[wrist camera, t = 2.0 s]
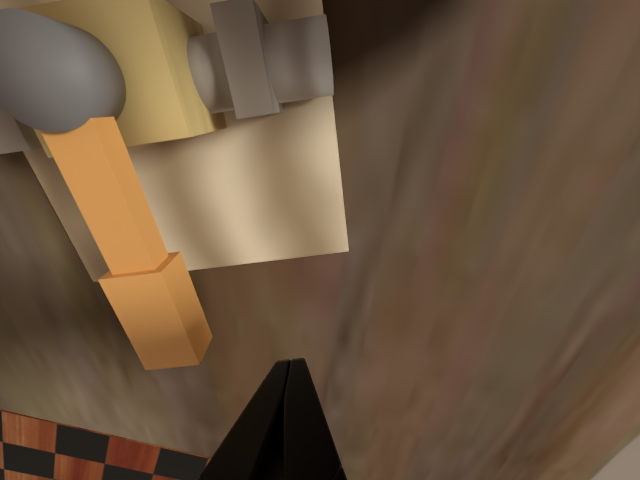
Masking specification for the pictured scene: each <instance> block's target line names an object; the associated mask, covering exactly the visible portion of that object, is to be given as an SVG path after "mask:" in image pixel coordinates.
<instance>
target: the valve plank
mask: <svg viewBox="0 0 640 480" xmlns="http://www.w3.org/2000/svg"><path fill="white" fill-rule="evenodd" d="M5 8H16V9H21V10H26V11H29V12H32V13H35V14H38V15H41V16H45V17H48V18H51V19H54V20H57V21H60V22H63V23H66V24H69V25H73V26H76V27H78V28H81V29H83V30H85V31H87V32H89V33H91V34H92V35H94V36H95V37H96V38H98V39H99V40H100V41H101V42H102V43H103V44H104V45H105V46H106V47H107V48H108V49H109V50H110V52H111V53H112V54H113V56H114V57H115V59H116V60H117V62H118V64H119V66H120V68H121V71H122V73H123V76H124V80H125V85H126V101H125V105H124V108H123V111H122V113H121V114H120V116H119V117H118V118H117V119H116V120H115V121H116V123H117V126H118V128H119V131H120V133H121V136H122V138H123V141H124V144H125V146H126V149H127V151H128V154H129V156H130V159H131V161H132V164H133V166H134V169H135V171H136V174H137V176H138V179H139V181H140V184H141V187H142V189H143V192H144V194H145V197H146V199H147V202H148V204H149V207H150V209H151V212H152V214H153V217H154V219H155V222H156V224H157V227H158V230H159V232H160V235H161V237H162V240H163V242H164V245H165V247H166V250H167V252H168V253H172V252H180V251H181V254H182V257H183V259H184V262H185V265H186V267H187V270H188V271H189V270H197V269H206V268H214V267H222V266H231V265H239V264H247V263H255V262H264V261H272V260H280V259H288V258H297V257H305V256H313V255H322V254H330V253H338V252H346V251H349V249H348V239H347V230H346V220H345V211H344V202H343V192H342V183H341V173H340V164H339V155H338V145H337V136H336V126H335V117H334V108H333V98H332V95H334V84H333V70H332V59H331V49H330V40H329V32H328V24H327V18H326V14H324V13H323V4H322V0H0V9H5ZM19 151H23V152H24V154H25V156H26V158H27V160H28V162H29V164H30V165H31V167H32V169H33V171H34V173H35V175H36V177H37V178H38V180H39V182H40V184H41V186H42V188H43V189H44V191H45V193H46V195H47V197H48V199H49V201H50V202H51V204H52V206H53V208H54V210H55V212H56V214H57V215H58V217H59V219H60V221H61V223H62V225H63V227H64V228H65V230H66V232H67V234H68V236H69V238H70V240H71V241H72V243H73V245H74V247H75V249H76V251H77V253H78V254H79V256H80V258H81V260H82V262H83V264H84V266H85V267H86V269H87V271H88V273H89V275H90V277H91V279H92V280H93V282H98V279H100V278H101V277H102V276H103V275H105V274H106V273H107V272H108V271H110V269H109V267H108V265H107V263H106V261H105V259H104V257H103V255H102V253H101V251H100V249H99V247H98V245H97V243H96V241H95V239H94V237H93V235H92V233H91V231H90V229H89V227H88V225H87V223H86V221H85V219H84V217H83V215H82V213H81V211H80V209H79V207H78V205H77V203H76V201H75V199H74V197H73V195H72V193H71V191H70V189H69V187H68V185H67V183H66V181H65V179H64V177H63V175H62V173H61V171H60V169H59V167H58V165H57V163H56V161H55V159H54V157H53V155H52V153H51V152H50V150H49V148H48V146H47V144H46V142H45V140H44V138H43V136H42V134H41V132H40V130H37V129H34V128H31V127H29V126H27V125H25V124H23V123H21V122H20V121H18V120H17V119H15V118H14V117H12V116H11V115H10V114H9V113H7V112H6V111H5V110H4V109H3V108H2V107H1V106H0V154H5V153H12V152H19Z"/></svg>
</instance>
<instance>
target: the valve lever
mask: <svg viewBox="0 0 640 480" xmlns="http://www.w3.org/2000/svg"><path fill="white" fill-rule="evenodd" d="M125 101H126V85H125V80H124V76H123V73H122V71H121V68H120V66H119V64H118V62H117V60H116V59H115V57H114V56H113V54H112V53H111V52H110V50H109V49H108V48H107V47H106V46H105V45H104V44H103V43H102V42H101V41H100V40H99V39H98V38H96V37H95V36H94V35H92V34H91V33H89V32H87V31H85V30H83V29H81V28H78V27H76V26H73V25H69V24H66V23H63V22H60V21H57V20H54V19H51V18H48V17H45V16H41V15H38V14H35V13H32V12H29V11H26V10H21V9H16V8H5V9H0V106H1V107H2V108H3V109H4V110H5V111H6V112H7V113H9V114H10V115H11V116H12V117H14V118H15V119H17V120H18V121H20V122H21V123H23V124H25V125H27V126H29V127H31V128H34V129H37V130H40V132H41V134H42V136H43V138H44V140H45V142H46V144H47V146H48V148H49V150H50V152H51V153H52V155H53V157H54V159H55V161H56V163H57V165H58V167H59V169H60V171H61V173H62V175H63V177H64V179H65V181H66V183H67V185H68V187H69V189H70V191H71V193H72V195H73V197H74V199H75V201H76V203H77V205H78V207H79V209H80V211H81V213H82V215H83V217H84V219H85V221H86V223H87V225H88V227H89V229H90V231H91V233H92V235H93V237H94V239H95V241H96V243H97V245H98V247H99V249H100V251H101V253H102V255H103V257H104V259H105V261H106V263H107V265H108V267H109V269H110V271H108V272H107V273H106V274H105V275H103V276H102V277H101V278H100V279H98V281H99V283H100V285H101V287H102V289H103V291H104V293H105V294H106V296H107V298H108V300H109V302H110V304H111V306H112V308H113V310H114V311H115V313H116V315H117V317H118V319H119V321H120V323H121V325H122V327H123V328H124V330H125V332H126V334H127V336H128V338H129V340H130V342H131V344H132V345H133V347H134V349H135V351H136V353H137V355H138V357H139V359H140V361H141V362H142V364H143V366H144V368H145V370H153V369H163V368H173V367H183V366H192V365H200V363H201V361H202V358H203V356H204V354H205V352H206V350H207V348H208V345H209V343H210V341H211V339H212V334H211V332H210V329H209V326H208V324H207V321H206V318H205V316H204V313H203V310H202V308H201V305H200V302H199V299H198V297H197V294H196V291H195V289H194V286H193V283H192V281H191V278H190V275H189V273H188V270H187V267H186V265H185V262H184V259H183V257H182V254H181V251H180V252H172V253H168V252H167V250H166V247H165V245H164V242H163V240H162V237H161V235H160V232H159V230H158V227H157V224H156V222H155V219H154V217H153V214H152V212H151V209H150V207H149V204H148V202H147V199H146V197H145V194H144V192H143V189H142V187H141V184H140V181H139V179H138V176H137V174H136V171H135V169H134V166H133V164H132V161H131V159H130V156H129V154H128V151H127V149H126V146H125V144H124V141H123V138H122V136H121V133H120V131H119V128H118V126H117V123H116V121H115V120H116V119H117V118H118V117H119V116H120V114H121V113H122V111H123V108H124V105H125Z"/></svg>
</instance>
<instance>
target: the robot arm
mask: <svg viewBox="0 0 640 480" xmlns="http://www.w3.org/2000/svg"><path fill="white" fill-rule="evenodd" d="M197 480H347V478H346V475H345V472H344V470H343V468H342V464H341V461H340V459H339V456H338V453H337V450H336V447H335V444H334V441H333V438H332V436H331V433H330V430H329V427H328V424H327V421H326V418H325V415H324V413H323V410H322V407H321V404H320V401H319V398H318V395H317V392H316V390H315V387H314V384H313V381H312V378H311V375H310V372H309V369H308V367H307V364H306V361H305V359H304V358H298V359H292V360H279V361H277V362H276V363H275V364H274V366H273V367H272V369H271V370H270V372H269V373H268V375H267V376H266V378H265V379H264V381H263V382H262V384H261V385H260V387H259V388H258V390H257V391H256V393H255V394H254V396H253V397H252V398H251V400H250V401H249V403H248V404H247V406H246V407H245V409H244V410H243V412H242V413H241V415H240V416H239V418H238V419H237V421H236V422H235V424H234V425H233V427H232V428H231V430H230V431H229V433H228V434H227V436H226V437H225V439H224V440H223V442H222V443H221V445H220V446H219V448H218V449H217V451H216V452H215V454H214V455H213V457H212V458H211V460H210V461H209V462H208V464H207V465H206V467H205V468H204V470H203V471H202V473H201V474H200V478H198V479H197Z"/></svg>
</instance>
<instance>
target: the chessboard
mask: <svg viewBox="0 0 640 480" xmlns="http://www.w3.org/2000/svg"><path fill="white" fill-rule="evenodd" d="M210 460H211V458H209V457H205V456H201V455H196V454H192V453H188V452H183V451H179V450H174V449H170V448H166V447H161V446H157V445H153V444H148V443H144V442H139V441H135V440H131V439H126V438H122V437H118V436H113V435H109V434H104V433H100V432H96V431H91V430H87V429H83V428H78V427H74V426H69V425H65V424H61V423H56V422H52V421H48V420H43V419H39V418H34V417H30V416H26V415H21V414H17V413H13V412H8V411H4V410H0V480H197V479H198V478H200V474H201V473H202V471H203V470H204V468H205V467H206V465H207V464H208V462H209V461H210Z"/></svg>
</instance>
